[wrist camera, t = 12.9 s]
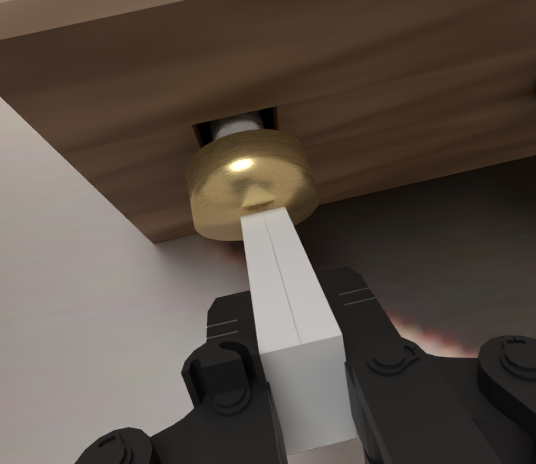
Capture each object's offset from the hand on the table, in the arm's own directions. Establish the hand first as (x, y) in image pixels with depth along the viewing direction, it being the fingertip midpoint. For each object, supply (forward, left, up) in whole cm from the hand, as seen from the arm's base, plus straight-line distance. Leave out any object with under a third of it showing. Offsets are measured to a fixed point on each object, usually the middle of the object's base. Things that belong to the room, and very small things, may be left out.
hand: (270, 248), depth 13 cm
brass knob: (+3, +3, -2) cm, 5 cm away
